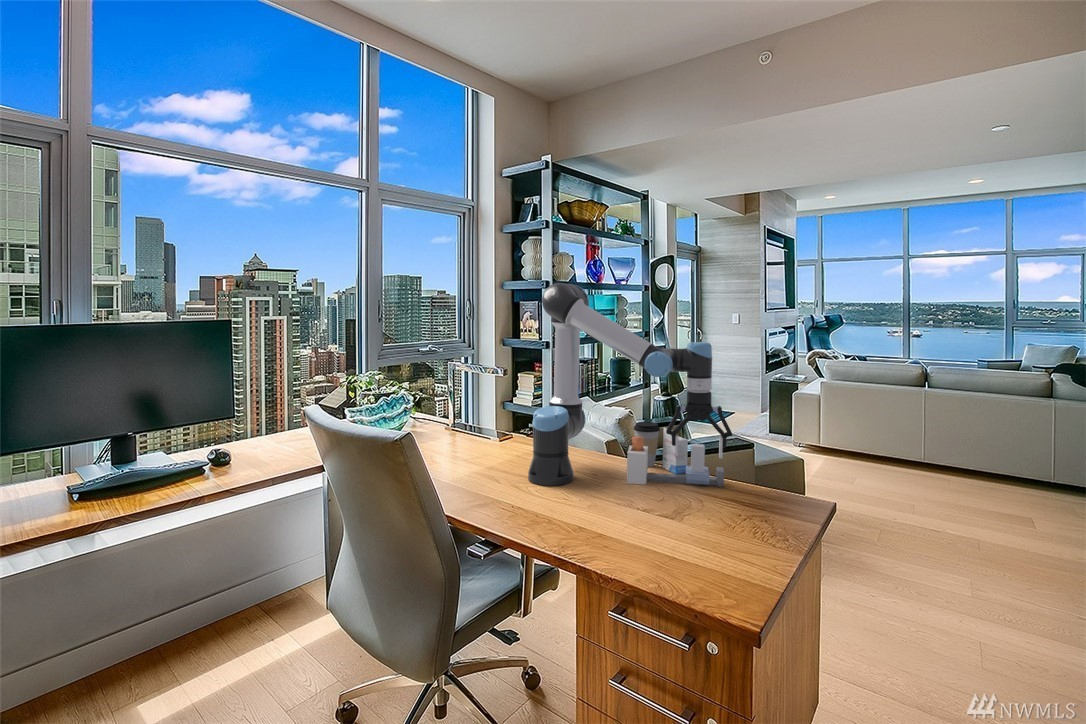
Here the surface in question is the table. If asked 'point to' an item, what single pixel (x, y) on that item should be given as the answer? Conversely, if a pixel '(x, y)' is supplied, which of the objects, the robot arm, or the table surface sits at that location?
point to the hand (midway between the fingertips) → (698, 456)
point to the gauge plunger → (637, 443)
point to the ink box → (669, 459)
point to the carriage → (697, 466)
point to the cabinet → (637, 465)
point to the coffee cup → (648, 438)
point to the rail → (681, 479)
